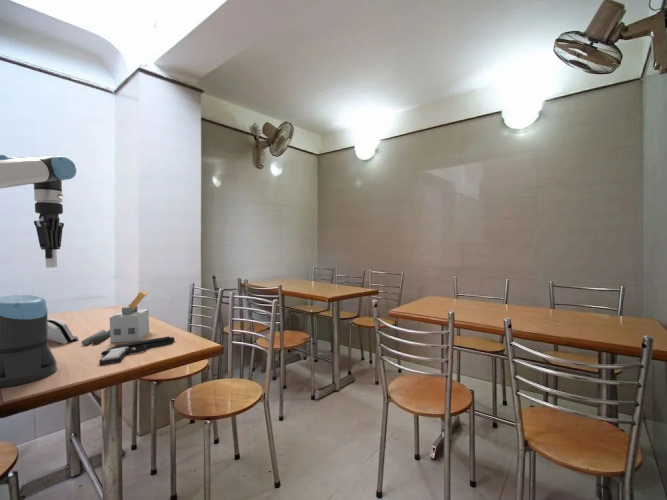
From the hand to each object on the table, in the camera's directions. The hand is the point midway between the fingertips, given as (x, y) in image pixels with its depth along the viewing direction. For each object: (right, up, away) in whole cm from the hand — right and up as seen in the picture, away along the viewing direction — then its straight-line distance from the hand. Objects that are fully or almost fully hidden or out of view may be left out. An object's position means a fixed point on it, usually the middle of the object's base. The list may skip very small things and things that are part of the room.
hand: (51, 267), depth 114 cm
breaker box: (+20, -30, +15) cm, 38 cm away
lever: (+19, -19, +14) cm, 30 cm away
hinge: (-8, -31, +12) cm, 34 cm away
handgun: (+35, -31, -3) cm, 46 cm away
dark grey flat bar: (+8, -30, +12) cm, 33 cm away
